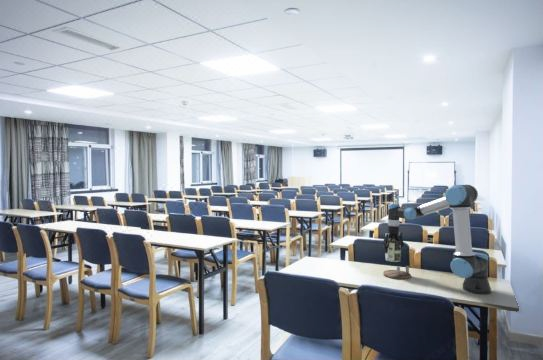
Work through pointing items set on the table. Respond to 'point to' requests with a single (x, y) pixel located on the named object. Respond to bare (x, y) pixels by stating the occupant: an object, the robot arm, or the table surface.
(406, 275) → the locating disc
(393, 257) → the coffee can
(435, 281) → the table surface
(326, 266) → the table surface
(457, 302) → the table surface
